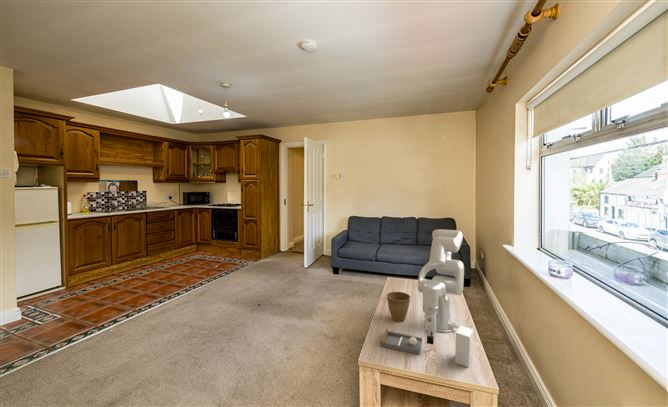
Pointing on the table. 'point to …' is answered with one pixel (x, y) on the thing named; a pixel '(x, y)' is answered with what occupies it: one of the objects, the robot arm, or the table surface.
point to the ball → (412, 341)
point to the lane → (400, 342)
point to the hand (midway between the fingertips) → (430, 343)
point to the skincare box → (464, 346)
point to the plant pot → (398, 305)
